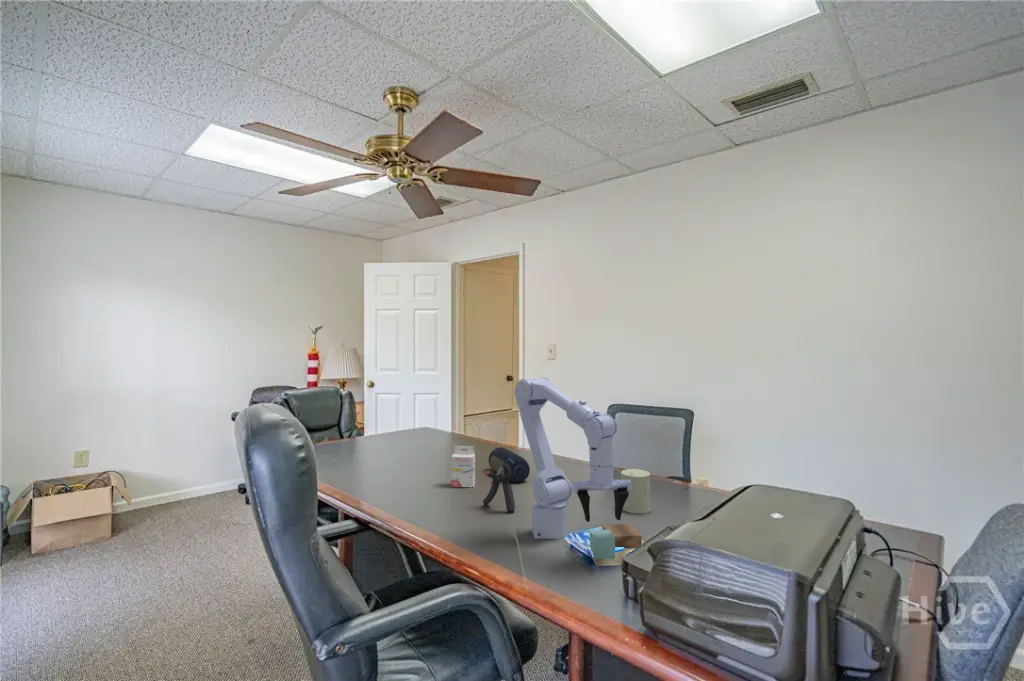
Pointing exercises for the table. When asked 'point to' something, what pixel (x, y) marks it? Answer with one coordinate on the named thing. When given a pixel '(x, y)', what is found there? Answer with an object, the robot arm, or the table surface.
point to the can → (637, 491)
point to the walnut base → (624, 535)
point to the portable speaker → (515, 462)
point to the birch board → (616, 560)
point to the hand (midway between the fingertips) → (602, 519)
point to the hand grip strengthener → (506, 487)
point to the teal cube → (602, 544)
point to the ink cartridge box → (463, 467)
